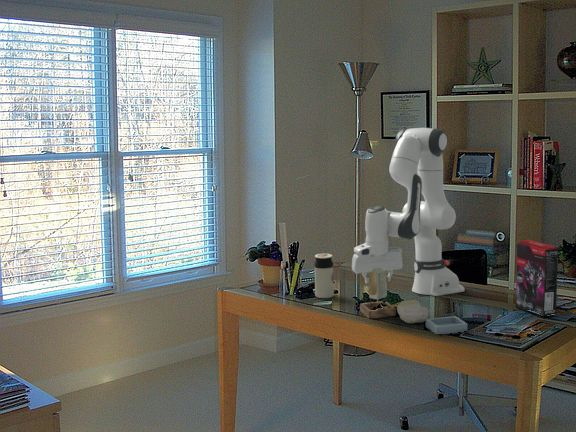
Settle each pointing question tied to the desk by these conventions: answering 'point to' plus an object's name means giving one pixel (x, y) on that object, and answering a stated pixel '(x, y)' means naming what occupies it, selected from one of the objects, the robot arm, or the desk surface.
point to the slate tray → (446, 325)
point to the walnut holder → (367, 311)
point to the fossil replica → (412, 311)
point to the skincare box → (377, 284)
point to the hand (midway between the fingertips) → (377, 281)
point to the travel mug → (324, 276)
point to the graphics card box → (536, 277)
